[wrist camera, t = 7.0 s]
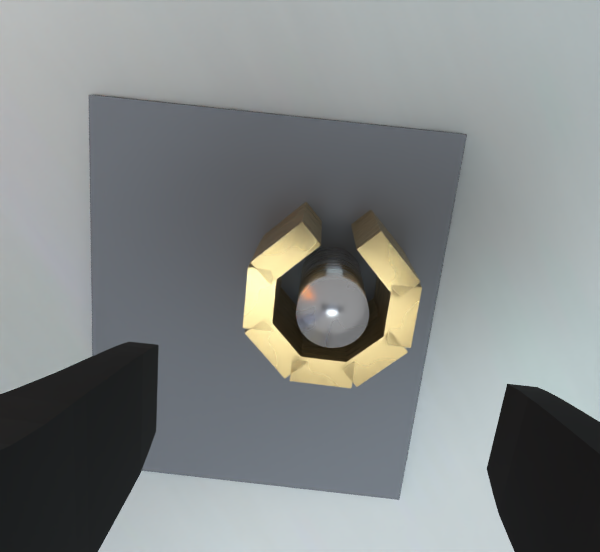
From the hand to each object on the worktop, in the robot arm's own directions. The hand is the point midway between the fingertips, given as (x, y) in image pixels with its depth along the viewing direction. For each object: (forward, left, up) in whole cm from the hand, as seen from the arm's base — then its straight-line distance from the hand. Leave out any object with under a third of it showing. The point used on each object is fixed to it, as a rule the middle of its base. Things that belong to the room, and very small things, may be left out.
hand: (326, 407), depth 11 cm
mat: (-2, +2, -10) cm, 10 cm away
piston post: (0, 0, -10) cm, 10 cm away
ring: (0, 0, -10) cm, 10 cm away
